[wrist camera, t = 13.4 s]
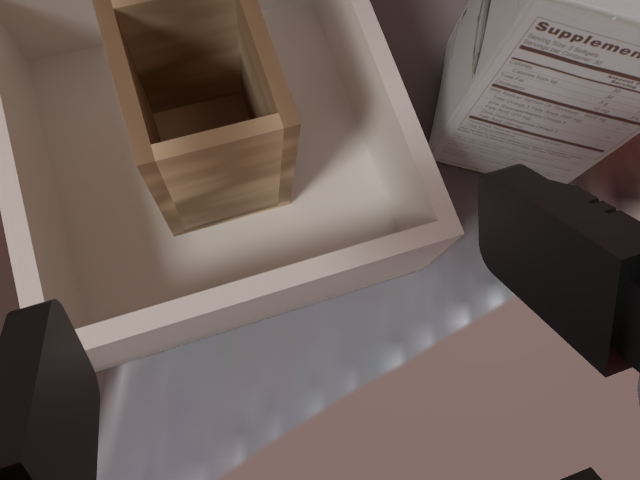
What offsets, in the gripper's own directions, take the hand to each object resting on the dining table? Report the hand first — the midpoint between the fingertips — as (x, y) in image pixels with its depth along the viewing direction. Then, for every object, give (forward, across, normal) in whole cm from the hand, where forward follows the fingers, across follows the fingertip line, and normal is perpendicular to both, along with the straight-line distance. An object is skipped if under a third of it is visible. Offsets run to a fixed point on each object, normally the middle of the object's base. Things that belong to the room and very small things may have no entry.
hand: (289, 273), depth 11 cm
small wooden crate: (+17, 0, +4) cm, 18 cm away
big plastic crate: (+18, 0, +4) cm, 18 cm away
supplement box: (+17, -15, +6) cm, 23 cm away
